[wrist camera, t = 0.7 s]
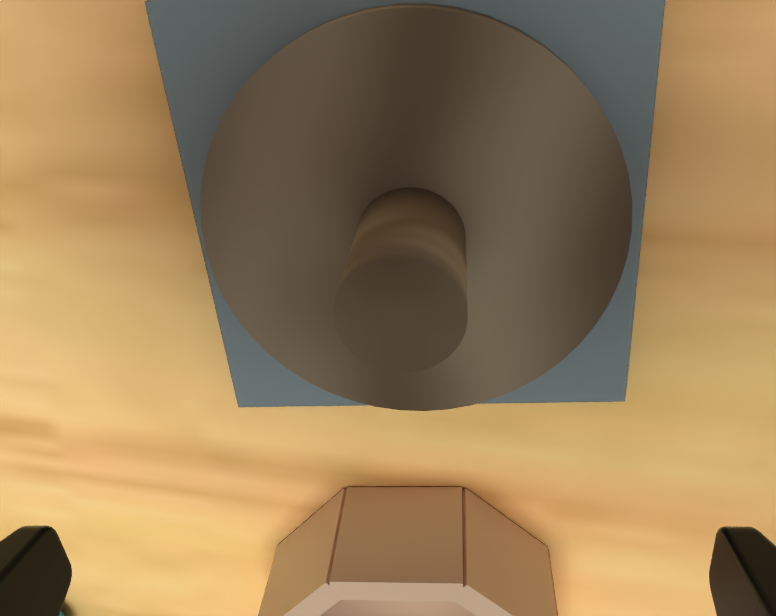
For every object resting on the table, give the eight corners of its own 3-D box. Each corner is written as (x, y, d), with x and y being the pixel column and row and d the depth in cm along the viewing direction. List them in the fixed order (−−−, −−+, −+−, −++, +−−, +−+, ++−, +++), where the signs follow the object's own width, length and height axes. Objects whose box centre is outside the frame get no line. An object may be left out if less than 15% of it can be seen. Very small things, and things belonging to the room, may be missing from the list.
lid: (643, -17, 16) (715, 9, 11) (608, 387, 21) (648, 511, 17) (170, 21, 17) (70, 59, 12) (251, 393, 22) (200, 510, 18)
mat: (662, -45, 16) (669, -44, 15) (620, 389, 22) (625, 401, 21) (154, -2, 17) (144, 1, 17) (243, 395, 23) (238, 406, 22)
